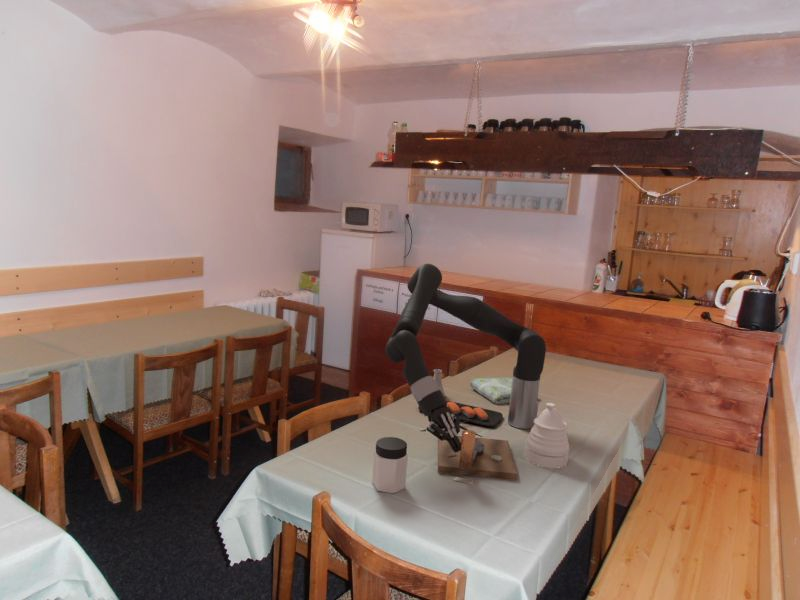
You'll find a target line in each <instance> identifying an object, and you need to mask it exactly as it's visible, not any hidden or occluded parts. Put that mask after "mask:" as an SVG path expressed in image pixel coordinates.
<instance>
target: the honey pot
mask: <svg viewBox="0 0 800 600" xmlns="http://www.w3.org/2000/svg"><path fill="white" fill-rule="evenodd" d="M545 406H546V408H545V409H544V410H543V411H541V413H540V414H539V416H537V418H535V419H534V426H533V427H532V428H530V432H529V434H528V436H526V439H525V447H524V454H525V455H524V458H525V460H526V461H528V460H529V461H530V462H529V461H528V462H529V463H531V462H532V463H531V464H533V463H534V464H533V465H535V464H536V465H535V466H537V465H539V466H538V467H540V466H543V467H542V468H544V467H548V468H547V469H555V468H556V469H559V468H558V467H562V468H564V467H563V466H565V465H566V464H568V463H567V462H569V455H570V444H569V443H570V442H569V439H568V433H567V432H566V430H567V429H568V423H567V422H566V421H564V420H563V416H562V415H561V413H560V411H559V410H558V409H557V408H556V404H555V403H552V402H547V403H545ZM566 466H567V465H566ZM566 466H565V467H566Z"/></svg>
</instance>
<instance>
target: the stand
mask: <svg viewBox="0 0 800 600" xmlns="http://www.w3.org/2000/svg"><path fill="white" fill-rule="evenodd" d="M440 435H441V434H440ZM457 437H458V439H459V441H460V442H461V440H462V435H457ZM475 441H476V442H480V443H482V444H484V453H483V454H481V455H477V457H476V459H475V461H474V463H473V466H472V469H471V470H470V472H469V473H466V472H461V468H460V467H459V461H460V451H461V450H460V451H458V452H456V453H455V452H454V451H453V450H452V448H451V446H450V444H449V442H448V441H446V440H443V441H441V440H440V439H438V438H437V473H439V474H440V473H442V474H449V475H450V474H452V475H461V476H471V477H478V478H479V477H482V478H490V479H499V478H500V480H510V481H511V480H513V481H517V477H518V472H517V468H516V464H515V461H514V457H513V453H512V449H511V447H510V443H509V440H504V439H493V438H485V437H483V438H482V437H475ZM453 481H454V482H459V483H463V484H467V485H471V486H472V485H473V483H474V480H473V479H467V478H462V477H458V476H455V477H454V479H453Z"/></svg>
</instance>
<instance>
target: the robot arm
mask: <svg viewBox="0 0 800 600" xmlns="http://www.w3.org/2000/svg"><path fill="white" fill-rule="evenodd" d="M442 274H443V273H442V271H441V270H440V269H439V268H438V267H437V266H436V265H434V264H431V263H423V264H421V265H420V266H419V267H418V268H417V269H416V270H415V272H414V273H413V275H412V276H411V277H410V278H409V280H408V282H407V285H406V286H407V290H408V291H409V293H410V294H411V295H410V297H409V299H408V301H407V302H406V304H405V305H404V308H403V309H402V312H401V314H400V316H399V319H398V321H397V324H396V327H395V329H394V330H393V331H392V333H391V335H390V336H389V338H388V341H387V342H386V346H385V354H386V356H387V358H388V360H389V361H391V362H393V363H402V362H405V364H404V366H403V368H402V375H403V378H404V379H405V381H406V382H407V385H408V386H409V389H410V391H411V393H412V396H413V398H414V399H415V401H416V403H417V405H418V407H420V409H421V410H422V411H421V410H420V411H421V413H422V414H423V416H424V417H427V419H428V422H429V424H428V425H427V427H426V429H427V431H426V432H428V433H430V434H432V435H433V436H435V437H436V438H437V440H438V439H440V440H441V441H443V440H446V441H448V442H449V444H450V446H451V448H452V450H453V451H454V452H455V453H456V452H458V451H460V450H461V442H460V441H459V439H458V437H457V436H458V435H459V433H460V432H461V427H460V426H461V423H460V422H461V420H460V419H459V415H458V414H456V415H454V414H452V413H451V411H450V410H449V409H448V408H447V401H448V400H447V399H446V398H445V396H444V395H443V394H442V392H441V390H440V388H439V387H438V385H437V383H436V382H435V380H434V379H433V376H432V374H431V372H430V371H429V369H428V367H427V366H426V364H425V360H424V356H423V353H422V349H421V346H420V343H419V340H418V339H417V337H418V334H419V333H420V330H421V328H422V324H423V322H424V319H425V315H426V312H427V310H428V307H429V305H430V306H433V307H436V308H438V309H439V310H442V311H444V312H445V313H448V314H449V315H451V316H452V317H453V316H454V317H455V318H457V319H458V320H460V321H462V322H463V323H465V324H467V325H468V326H469V327H470V326H471V327H472V328H474V329H475V330H477V331H479V332H482V333H485V334H488V335H491V336H494V337H497V338H498V339H501V340H502V341H504V342H505V343H507V344H508V345H510V346H511V347H513V349H515V350H516V351H517V360H516V365H515V366H514V367H513V370H512V371H513V372H512V377H511V378H512V387H511V396H510V403H509V406H508V415H507V424H509V425H510V426H512V427H513V428H515V429H516V428H517V429H522V430H529V429H530V430H531V429H532V427H533V426H534V419H535V418H537V417H538V411H539V403H540V402H539V400H538V398H539V390H540V389H539V388H540V380H541V375H542V373H543V370H544V366H545V359H546V352H547V350H546V349H547V344H546V341H545V339H544V338H543V337H542V336H541V335H540V334H539V333H538V332H537V331H535V330H533V329H530V328H528V327H526V326H524V325H521V324H520V323H517V322H515V321H513V320H511V319H509V317H507V316H505V315H504V314H502V313H501V311H498V310H497V309H496V308H495V307H493V306H491V305H490V304H488V303H486V302H485V301H483V300H481V299H479V298H477V297H475V296H470V295H453V294H450V293H447V292H445V291H442V290H440V289H439V288H440V286H441V283H442V281H443V275H442ZM446 400H447V401H446ZM440 434H441V435H440Z"/></svg>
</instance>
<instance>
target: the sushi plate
mask: <svg viewBox="0 0 800 600" xmlns="http://www.w3.org/2000/svg"><path fill="white" fill-rule="evenodd" d="M446 401H447V408H448V409H449V410H450V411H451V413H452V414H454V415H456V414H458V415H459V419H460V424H464V423H471V424H477V425H480V426H485V427H495V426H497V424H499V423H500V421H501V420H502V418H503V415H504V414H503V413H502V412H500V411H496V410H492V409H487V408H483V407H479V406H474V405H470V404H469V405H468V404H465V403H460V402H455V401H450V400H447V399H446ZM417 409H418V410H419V411H421V412H422V410H421V409H420V407H419V406H418V408H417ZM460 429H462V430H469V429H468V428H466V427H464V426H462V425H460ZM426 430H427V428H426V429H423V430H422V429H421V430H420V431H421V432H427V431H426ZM475 436H478V437H479V438H482V437H483V436H482V435H480V434H478V433H476V435H475Z"/></svg>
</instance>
